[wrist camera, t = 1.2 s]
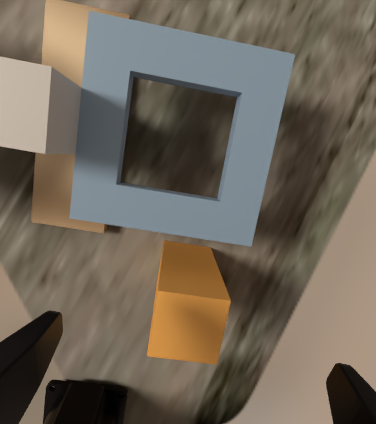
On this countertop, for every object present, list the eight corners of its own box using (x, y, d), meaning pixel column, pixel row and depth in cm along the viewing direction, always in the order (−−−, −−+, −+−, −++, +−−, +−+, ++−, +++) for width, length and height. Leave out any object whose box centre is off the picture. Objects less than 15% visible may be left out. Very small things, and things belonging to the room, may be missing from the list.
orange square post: (202, 290, 22) (216, 364, 14) (156, 284, 22) (147, 356, 14) (210, 247, 22) (230, 300, 14) (164, 240, 21) (157, 290, 13)
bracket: (234, 225, 20) (271, 271, 12) (46, 195, 19) (-43, 224, 11) (265, 78, 18) (333, 22, 10) (58, 36, 17) (-38, -60, 9)
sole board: (106, 229, 21) (103, 233, 20) (37, 218, 20) (30, 222, 20) (131, 22, 18) (129, 15, 17) (53, 5, 18) (46, -3, 17)
